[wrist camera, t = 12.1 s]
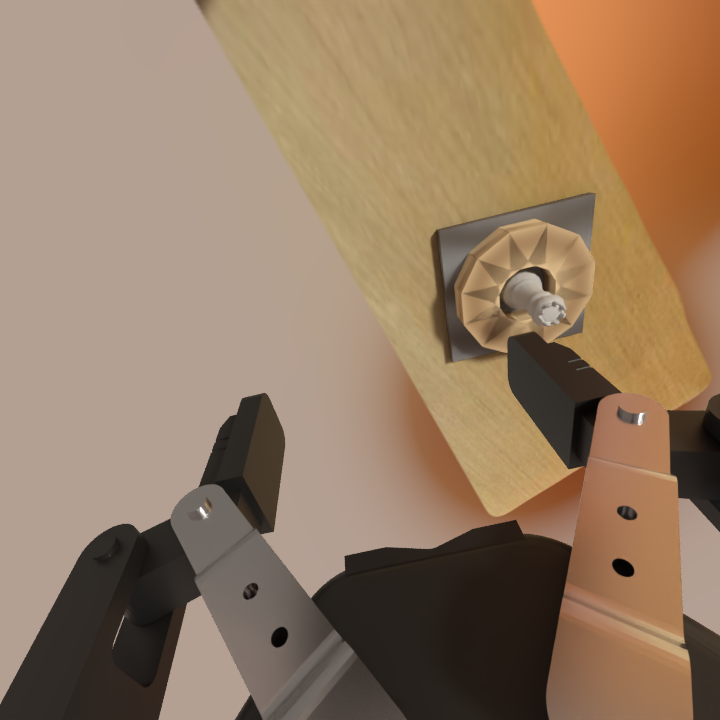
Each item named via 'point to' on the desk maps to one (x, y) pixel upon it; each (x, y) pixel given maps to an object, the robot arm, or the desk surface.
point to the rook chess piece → (532, 298)
